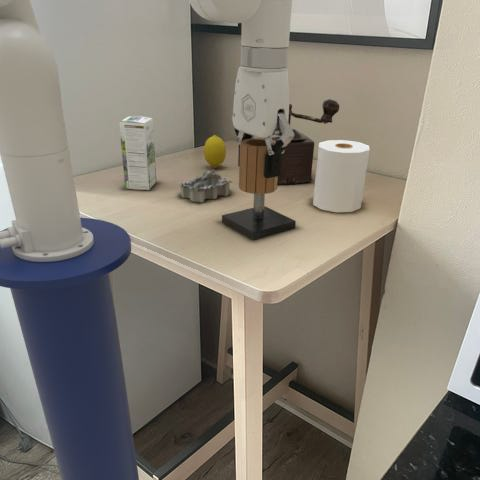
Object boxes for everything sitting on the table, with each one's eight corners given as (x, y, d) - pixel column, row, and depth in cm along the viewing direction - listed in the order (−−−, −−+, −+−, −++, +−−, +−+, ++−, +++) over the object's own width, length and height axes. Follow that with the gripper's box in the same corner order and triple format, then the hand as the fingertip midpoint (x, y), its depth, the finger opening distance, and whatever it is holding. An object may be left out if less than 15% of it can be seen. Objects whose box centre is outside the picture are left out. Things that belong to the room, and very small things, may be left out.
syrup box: (133, 181, 116) (126, 115, 108) (157, 183, 115) (152, 116, 107) (125, 189, 111) (117, 120, 103) (150, 191, 110) (145, 122, 102)
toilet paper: (344, 194, 111) (352, 137, 104) (370, 209, 103) (380, 150, 96) (303, 198, 108) (309, 141, 101) (327, 215, 100) (335, 154, 93)
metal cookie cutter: (215, 186, 114) (215, 168, 112) (235, 195, 109) (235, 176, 107) (175, 194, 108) (174, 176, 106) (194, 204, 103) (194, 185, 101)
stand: (253, 240, 89) (255, 185, 83) (221, 222, 96) (221, 170, 90) (295, 228, 94) (299, 175, 88) (262, 212, 101) (264, 162, 95)
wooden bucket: (254, 196, 87) (256, 149, 82) (231, 185, 91) (232, 140, 87) (283, 190, 90) (287, 144, 86) (260, 180, 95) (263, 136, 90)
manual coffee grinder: (269, 186, 114) (274, 102, 105) (258, 172, 124) (261, 93, 114) (333, 182, 117) (343, 100, 107) (317, 169, 126) (325, 92, 117)
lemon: (201, 165, 127) (200, 133, 123) (221, 163, 129) (221, 131, 125) (208, 172, 123) (208, 138, 118) (229, 169, 125) (229, 136, 120)
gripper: (214, 55, 83) (214, 162, 93) (281, 66, 72) (272, 188, 81) (250, 53, 87) (246, 157, 97) (319, 64, 75) (306, 181, 85)
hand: (258, 170), depth 89 cm, fingers closed on wooden bucket, 6 cm apart
